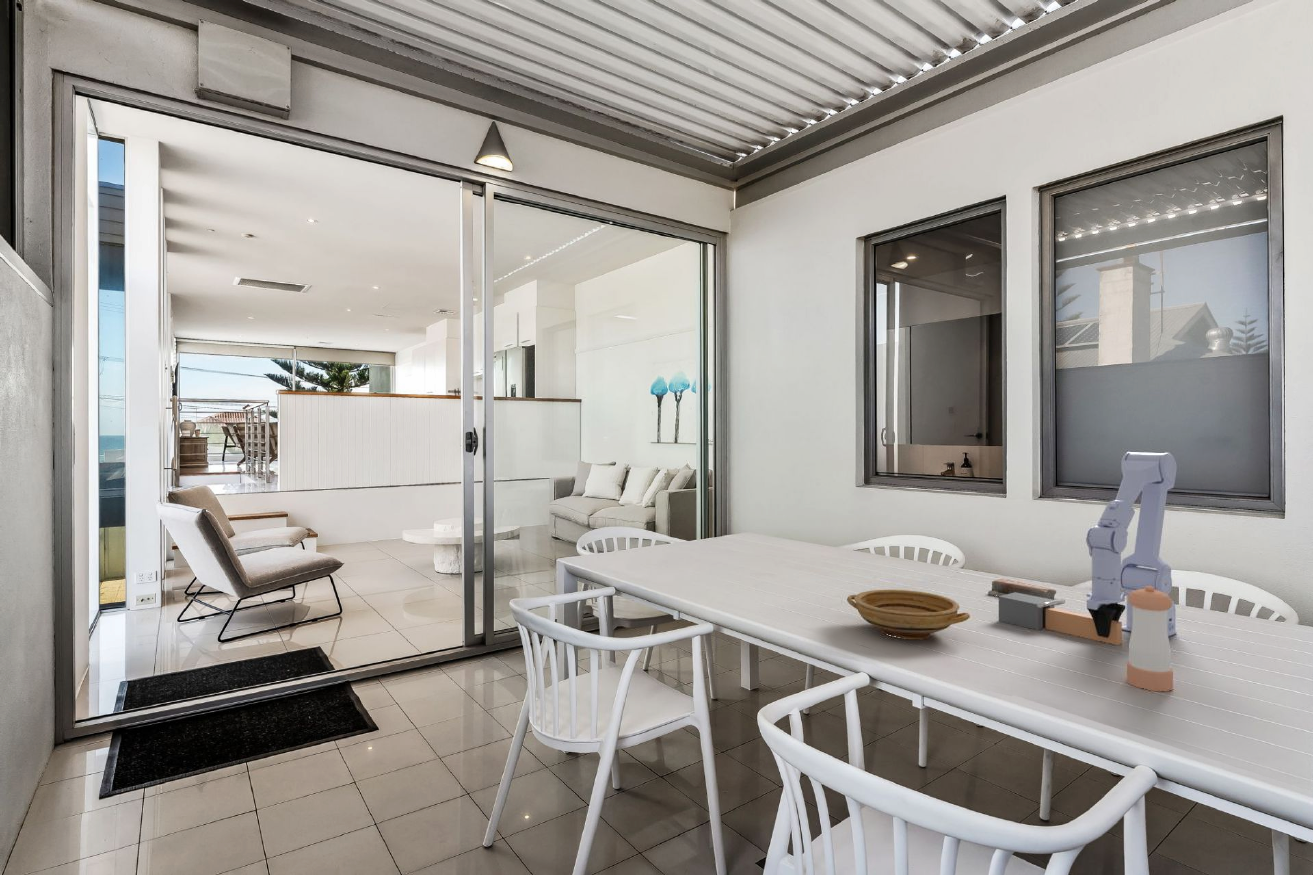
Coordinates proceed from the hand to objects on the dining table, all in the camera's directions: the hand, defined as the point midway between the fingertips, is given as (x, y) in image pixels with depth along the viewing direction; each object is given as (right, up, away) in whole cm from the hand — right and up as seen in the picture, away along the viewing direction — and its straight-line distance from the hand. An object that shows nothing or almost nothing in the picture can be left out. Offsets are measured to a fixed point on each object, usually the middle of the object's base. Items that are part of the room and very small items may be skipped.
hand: (1106, 635), depth 159 cm
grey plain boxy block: (-10, -1, +16) cm, 19 cm away
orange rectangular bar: (-3, -1, +4) cm, 5 cm away
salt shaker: (-10, -2, -27) cm, 29 cm away
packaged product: (+3, -2, +41) cm, 41 cm away
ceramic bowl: (-44, -2, +7) cm, 45 cm away
